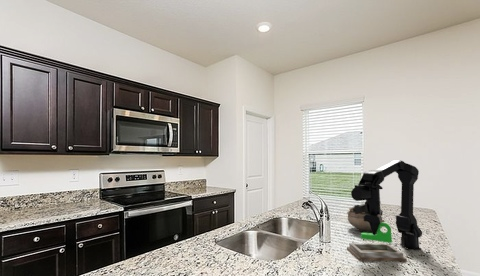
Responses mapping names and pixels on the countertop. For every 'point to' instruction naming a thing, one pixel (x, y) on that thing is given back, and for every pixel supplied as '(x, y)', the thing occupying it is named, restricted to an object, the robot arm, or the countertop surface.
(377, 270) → the countertop surface
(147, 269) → the countertop surface
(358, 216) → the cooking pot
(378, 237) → the mechanical part
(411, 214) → the robot arm
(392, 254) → the keyed nest
